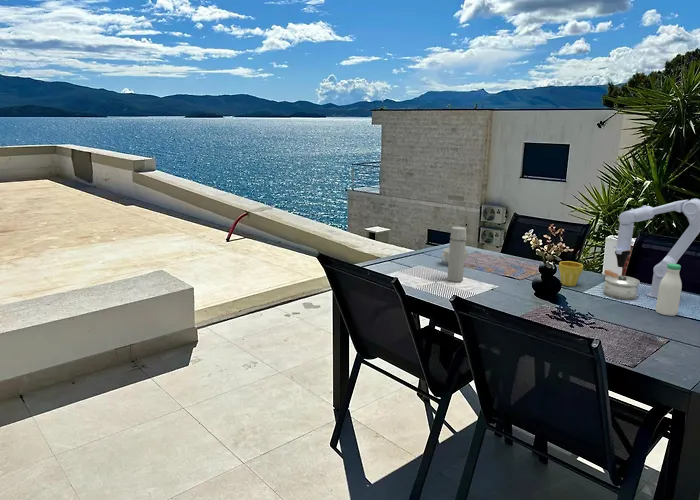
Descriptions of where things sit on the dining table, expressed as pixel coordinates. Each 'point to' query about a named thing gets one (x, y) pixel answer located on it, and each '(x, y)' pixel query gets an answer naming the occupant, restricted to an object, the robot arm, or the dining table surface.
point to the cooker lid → (620, 279)
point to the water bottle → (456, 254)
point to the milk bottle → (669, 291)
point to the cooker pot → (620, 291)
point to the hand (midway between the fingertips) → (620, 266)
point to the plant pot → (570, 272)
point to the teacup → (446, 255)
